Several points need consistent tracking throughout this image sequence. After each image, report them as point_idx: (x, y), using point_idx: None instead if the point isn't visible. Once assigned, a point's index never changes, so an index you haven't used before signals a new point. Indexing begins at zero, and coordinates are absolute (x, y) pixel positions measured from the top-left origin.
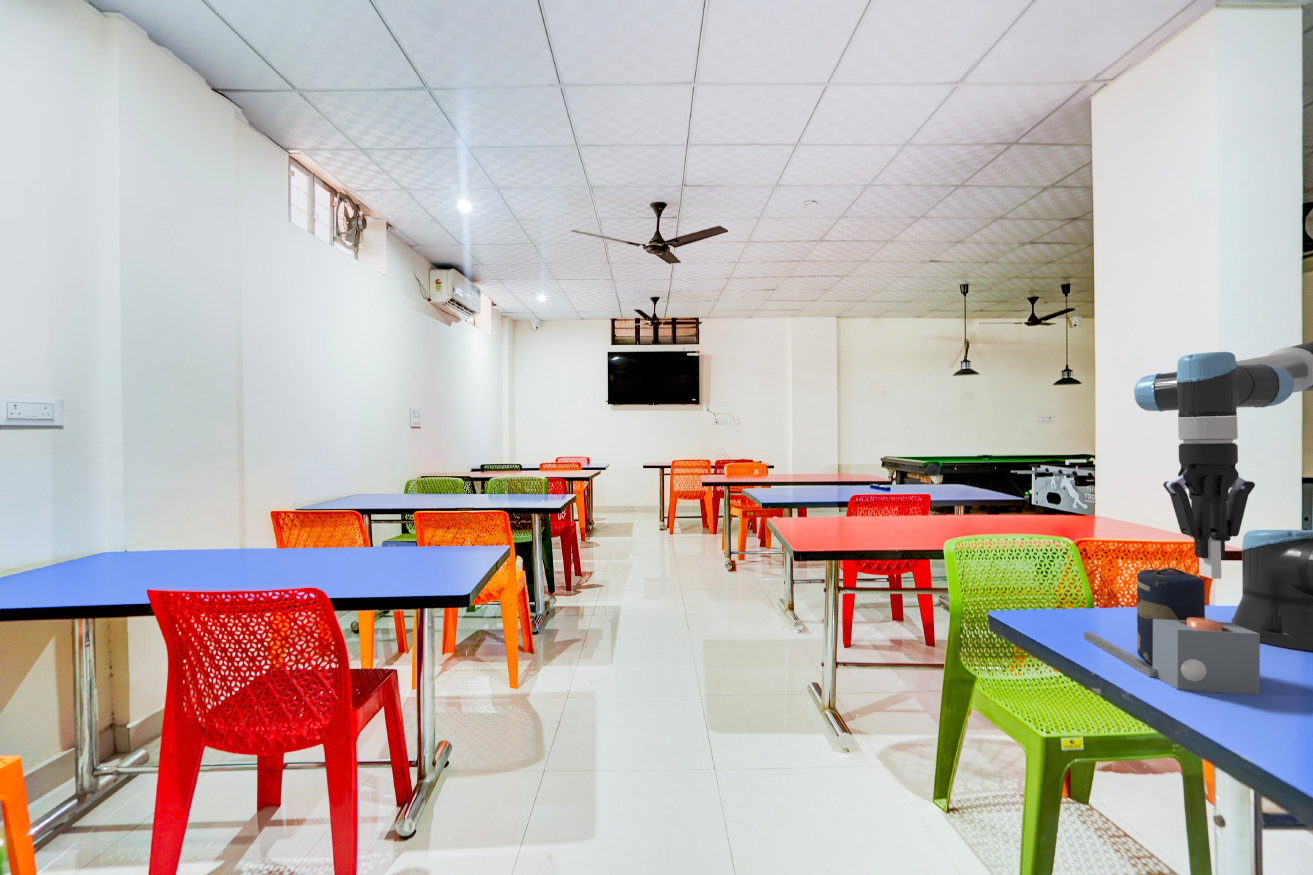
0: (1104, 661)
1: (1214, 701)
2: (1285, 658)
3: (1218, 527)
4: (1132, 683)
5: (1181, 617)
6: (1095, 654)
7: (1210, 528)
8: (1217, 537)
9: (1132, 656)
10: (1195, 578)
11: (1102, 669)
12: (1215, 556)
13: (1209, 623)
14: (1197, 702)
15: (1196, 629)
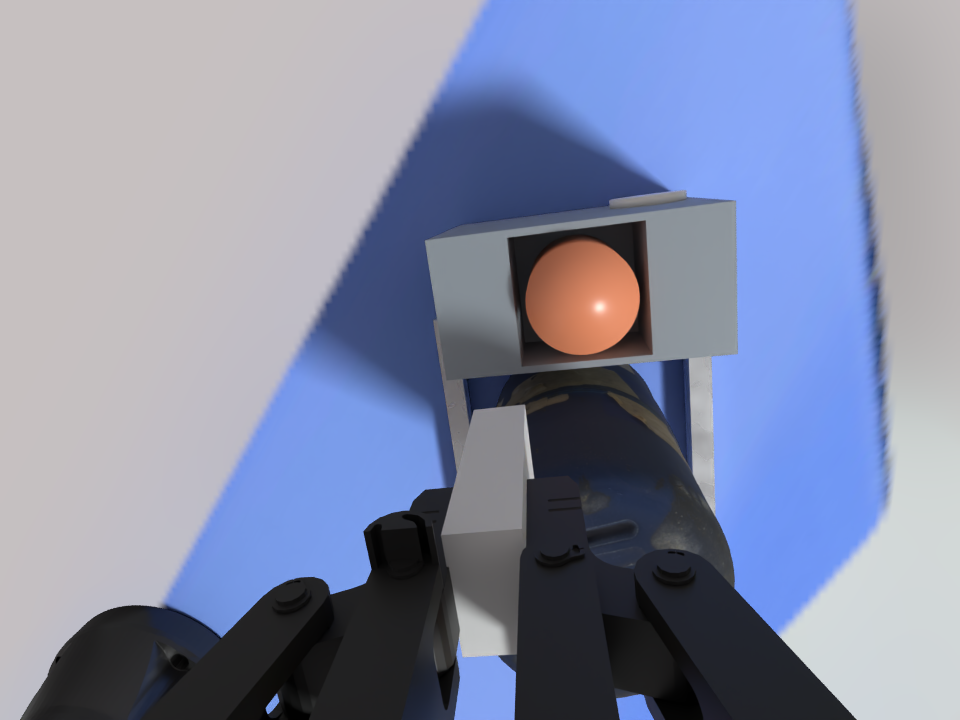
0: (766, 394)
1: (623, 126)
2: (232, 539)
3: (423, 642)
4: (793, 211)
5: (601, 401)
6: (758, 453)
7: (446, 709)
8: (442, 582)
9: (697, 395)
10: None
11: (818, 317)
12: (494, 466)
13: (580, 270)
14: (681, 99)
15: (647, 231)
